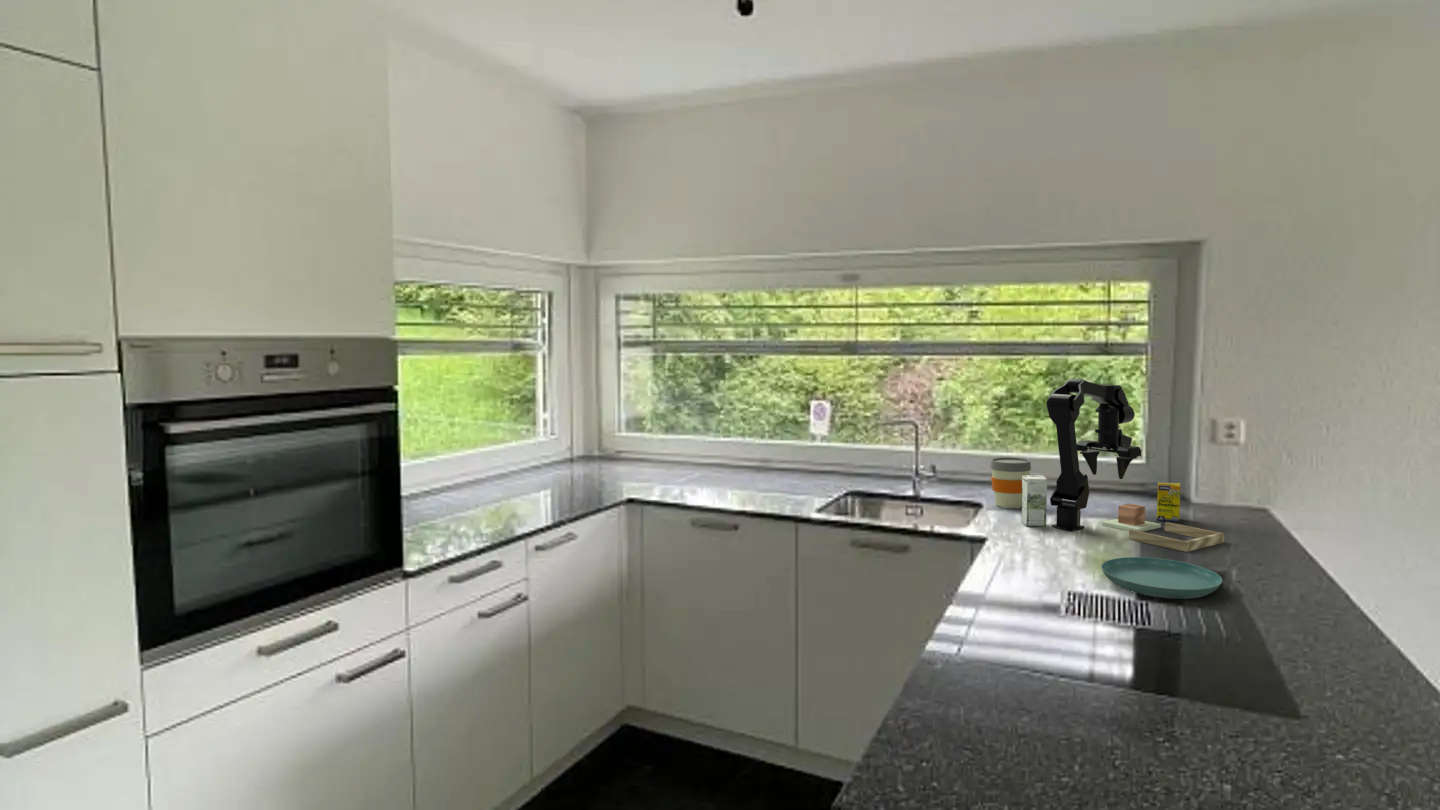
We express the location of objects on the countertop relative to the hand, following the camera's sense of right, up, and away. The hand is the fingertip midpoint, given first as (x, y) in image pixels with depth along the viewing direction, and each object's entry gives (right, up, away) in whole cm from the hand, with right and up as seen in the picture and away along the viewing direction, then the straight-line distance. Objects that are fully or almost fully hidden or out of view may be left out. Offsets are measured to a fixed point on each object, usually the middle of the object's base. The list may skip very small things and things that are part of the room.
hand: (1107, 476), depth 254 cm
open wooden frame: (+5, -15, -28) cm, 32 cm away
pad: (+1, -13, -12) cm, 18 cm away
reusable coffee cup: (-23, -11, +19) cm, 32 cm away
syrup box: (-25, -14, -7) cm, 30 cm away
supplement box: (+16, -13, -5) cm, 21 cm away
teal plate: (-19, -19, -65) cm, 71 cm away
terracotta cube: (+1, -12, -12) cm, 17 cm away
